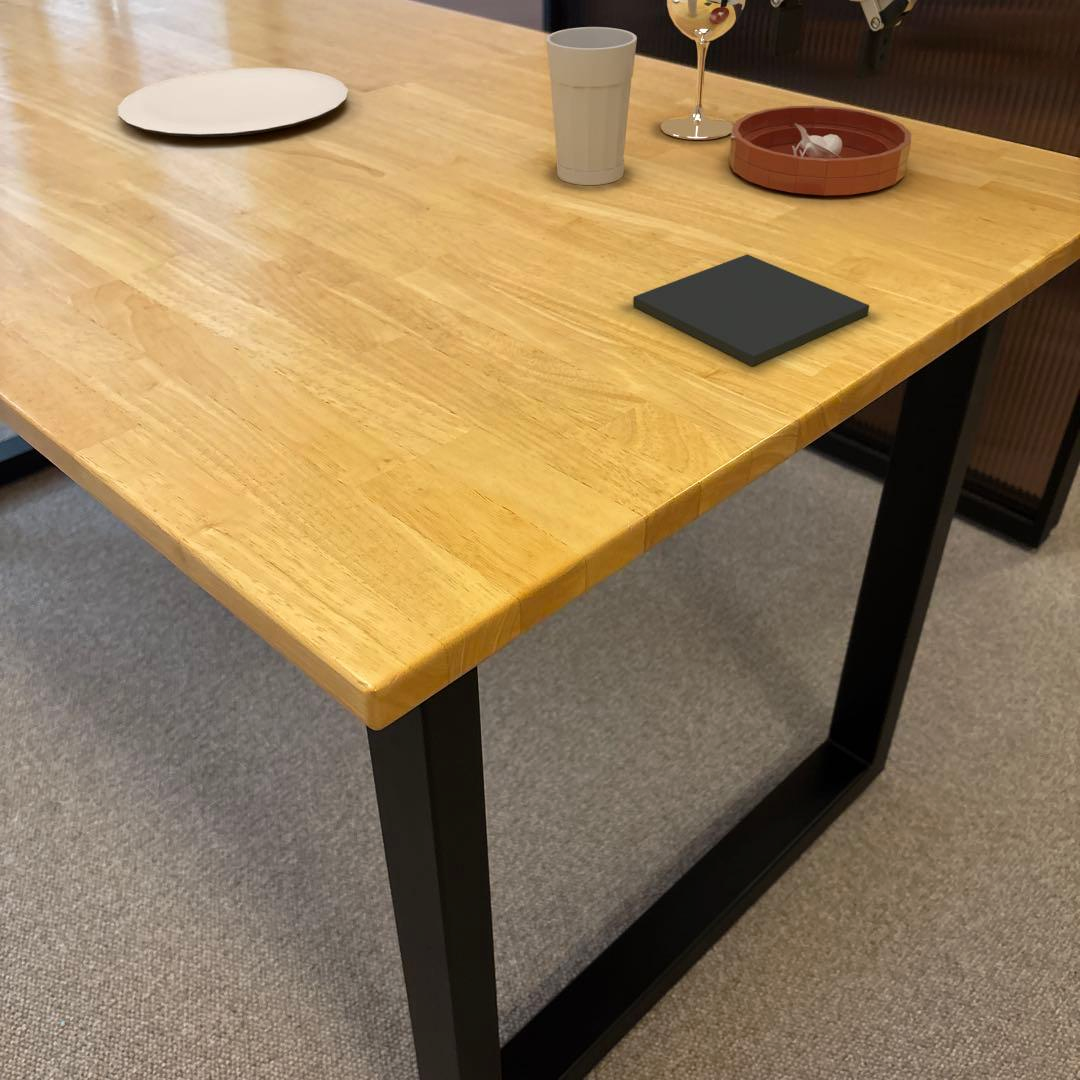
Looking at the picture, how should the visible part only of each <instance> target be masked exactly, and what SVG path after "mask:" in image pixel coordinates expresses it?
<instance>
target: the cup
mask: <svg viewBox="0 0 1080 1080" xmlns="http://www.w3.org/2000/svg"><path fill="white" fill-rule="evenodd" d="M637 40H638V37H637V35H636V34H634V33H633V32H631V31H629V30H625V29H620V28H615V27H614V28H613V27H604V26H585V27H583V26H582V27H573V28H565V29H561V30H558V31H555V32H552V33H550V34H548V35H547V37H546V49H547V60H548V61H547V62H548V69H549V80H550V91H551V103H552V116H553V128H554V139H555V150H556V151H555V152H556V177H558V178H559V179H560V180H561V181H564V182H565V183H569V184H574V185H580V186H599V185H606V184H611V183H614V182H616V181H619V180H621V179H622V178H623V176H624V173H625V157H624V155H625V146H626V136H627V126H628V115H629V108H630V107H629V106H630V96H631V88H632V87H631V86H632V79H633V76H634V67H635V57H636V50H637Z"/></svg>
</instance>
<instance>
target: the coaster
mask: <svg viewBox="0 0 1080 1080" xmlns="http://www.w3.org/2000/svg"><path fill="white" fill-rule="evenodd" d="M632 298H633V299H632V300H633V301H632V306H633V307H634V308H636V309H638V310H640V311H641V312H644V313H646V314H648V315H649V316H652V317H654V318H655V319H658V320H660V321H661V322H663V323H666V324H667V325H670V326H672V327H674V328H675V329H677V330H679V331H682V332H683V333H685V334H687V335H689V336H691V337H693V338H695V339H697V340H699V341H701V342H703V343H705V344H707V345H709V346H712V347H713V348H715V349H717V350H719V351H720V352H723V353H725V354H727V355H729V356H731V357H733V358H735V359H736V360H739V361H740V362H743V363H744V364H747V365H749V366H751V367H755V366H757V365H759V364H761V363H764V362H766V361H768V360H770V359H772V358H775V357H777V356H779V355H781V354H784V353H786V352H788V351H790V350H793V349H795V348H797V347H799V346H802V345H804V344H806V343H808V342H810V341H813V340H816V339H817V338H820V337H822V336H824V335H826V334H828V333H831V332H834V331H835V330H838V329H839V328H842V327H844V326H847V325H849V324H851V323H853V322H856V321H858V320H860V319H862V318H864V317H867V316H868V315H869V310H870V305H869V304H867V303H865V302H863V301H860V300H858V299H856V298H853V297H850V296H848V295H846V294H843V293H841V292H839V291H836V290H834V289H832V288H830V287H826V286H824V285H822V284H819V283H818V282H815V281H813V280H811V279H808V278H805V277H803V276H800V275H798V274H795V273H793V272H791V271H788V270H786V269H783V268H781V267H778V266H776V265H774V264H771V263H769V262H767V261H765V260H762V259H760V258H757V257H754V256H752V255H750V254H748V253H747V254H744V255H741V256H738V257H736V258H733V259H730V260H727V261H725V262H722V263H720V264H717V265H714V266H711V267H709V268H706V269H704V270H701V271H699V272H695V273H693V274H690V275H688V276H685V277H683V278H680V279H677V280H675V281H671V282H668V283H666V284H664V285H661V286H658V287H656V288H653V289H650V290H647V291H645V292H642V293H640V294H636V295H634V296H633V297H632Z"/></svg>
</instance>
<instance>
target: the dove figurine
mask: <svg viewBox="0 0 1080 1080" xmlns="http://www.w3.org/2000/svg"><path fill="white" fill-rule="evenodd" d="M795 124H796V123H795ZM796 126H797V127H798V129H799V130H800V132H801V135H802V140H801V141H800V143H799V144H798V145H797V147H796V149H795V148H794V146H792V148H793V152H794V156H797V154H796V151H797V149H798V147H799V146H801V147H802V148H803V150H804V152H803V154H802V152H801V150H799V152H800V155H801V157H803V156H804V154H805V153H806V154H807V155H808V156H809V157H814V158H827V159H829V158H835V157H838V158H841V157H840V156H838V155H839V153H840V152H841V149H842V140H841V139H840V138H839V137H838V136H837V135H832V134H829V135H826V136H824V137H821V136H817V135H812V136H809V135H808V134H807V132H806V129H805V128H803V127H802V126H800V125H798V124H796Z"/></svg>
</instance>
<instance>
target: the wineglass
mask: <svg viewBox="0 0 1080 1080" xmlns="http://www.w3.org/2000/svg"><path fill="white" fill-rule="evenodd" d="M746 3H747V0H665V4H666V9H667V12H668V16H669V18H670V20H671V21H672V23H673V25H674V26H675V27H676V28H677V29H678V30H679V31H680V33H682V34H683V35H685V36H686V37H687V38H688V39H690V40H693V41H695V43H696V49H697V50H696V51H697V72H696V88H695V103H694V106H693V110H692V112H691V113H690V114H689V115H688V114H687V115H679V116H673V117H671V118H668V119H666V120H664V121H663V122H662V123H661V125H660V130H661V131H662V133H664V134H665V135H667V136H670V137H673V138H676V139H681V140H688V141H708V140H709V141H710V140H717V139H721V138H725V137H727V136H729V135H731V132H732V128H733V126H734V124H732V122H730V121H729V120H727V119H724V118H722V117H717V116H712V115H706V113H705V112H704V111H705V110H704V107H703V98H704V83H705V82H704V81H705V70H706V59H707V54H708V49H709V46H710V43H711V42H712V41H714V40H717V39H718V38H720V37H722V36H724V35H725V34H726V33H727V32H728V31H729V30H730V29H731V28H733V27H734V26H735V25H736V23H737V22H738V20H739V19H740V17H741V16H742V14H743V11H744V9H745V6H746Z"/></svg>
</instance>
